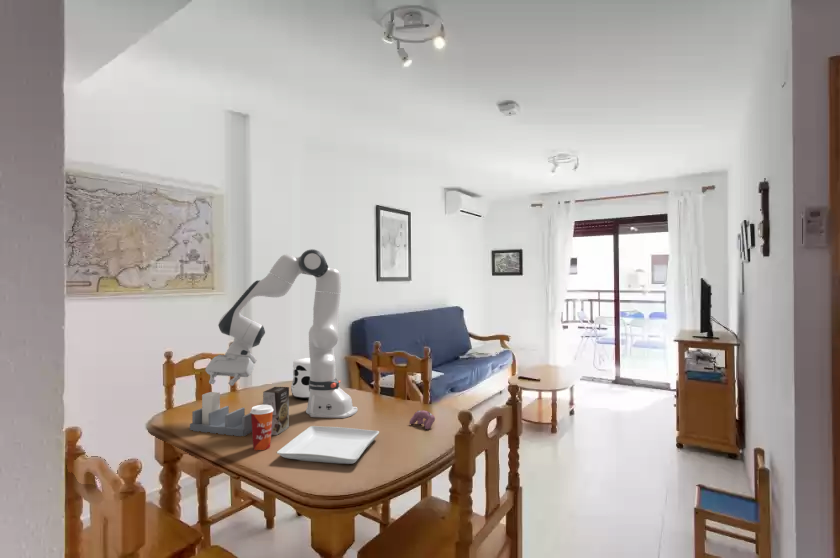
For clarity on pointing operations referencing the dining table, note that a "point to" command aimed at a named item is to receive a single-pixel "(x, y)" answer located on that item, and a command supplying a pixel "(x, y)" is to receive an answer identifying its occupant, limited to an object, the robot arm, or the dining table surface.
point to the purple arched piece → (419, 417)
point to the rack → (223, 422)
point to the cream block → (209, 405)
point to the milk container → (301, 378)
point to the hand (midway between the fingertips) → (220, 383)
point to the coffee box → (278, 408)
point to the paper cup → (261, 426)
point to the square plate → (329, 444)
